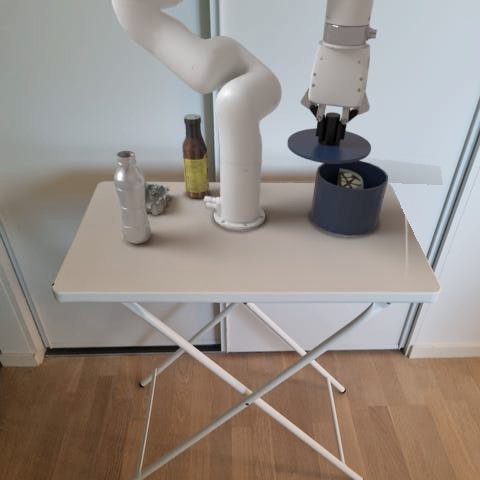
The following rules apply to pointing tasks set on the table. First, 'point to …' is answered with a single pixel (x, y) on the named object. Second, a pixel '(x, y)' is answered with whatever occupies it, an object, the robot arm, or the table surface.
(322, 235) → the table surface
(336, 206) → the pot
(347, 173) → the food container
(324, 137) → the pot lid
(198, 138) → the sauce bottle
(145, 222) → the plastic bottle
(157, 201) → the grey metal casting
